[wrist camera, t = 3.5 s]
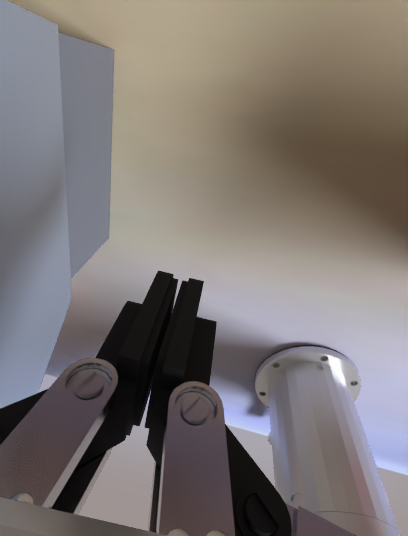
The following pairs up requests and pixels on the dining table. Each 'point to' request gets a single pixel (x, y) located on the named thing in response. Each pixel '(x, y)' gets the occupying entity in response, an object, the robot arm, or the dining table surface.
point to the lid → (30, 202)
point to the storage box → (86, 143)
